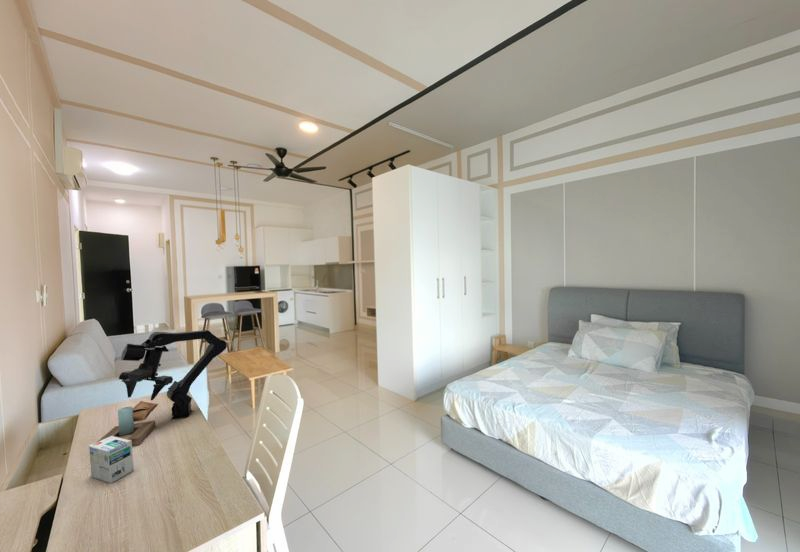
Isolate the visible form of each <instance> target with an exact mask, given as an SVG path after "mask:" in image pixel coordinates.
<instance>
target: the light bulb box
mask: <svg viewBox="0 0 800 552" xmlns="http://www.w3.org/2000/svg"><path fill="white" fill-rule="evenodd" d="M88 450H89V464H90V475H91V476H92V477H91V476H90V477H91V478H95V479H97V480H101V481H104V482H106V483H108V484H109V483H110V484H113V482H116V481H117V480H119V479H121V478H123V477H125V476H126V475H128V474H130V473H132V472H134V458H133V457H134V456H133V447H132V440H128V439H123V438H119V437H115V436H110V437H108V438H106V439H103V440H101V441H99V442H97V441H96V442H94V443H92V444H89V445H88Z"/></svg>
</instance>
